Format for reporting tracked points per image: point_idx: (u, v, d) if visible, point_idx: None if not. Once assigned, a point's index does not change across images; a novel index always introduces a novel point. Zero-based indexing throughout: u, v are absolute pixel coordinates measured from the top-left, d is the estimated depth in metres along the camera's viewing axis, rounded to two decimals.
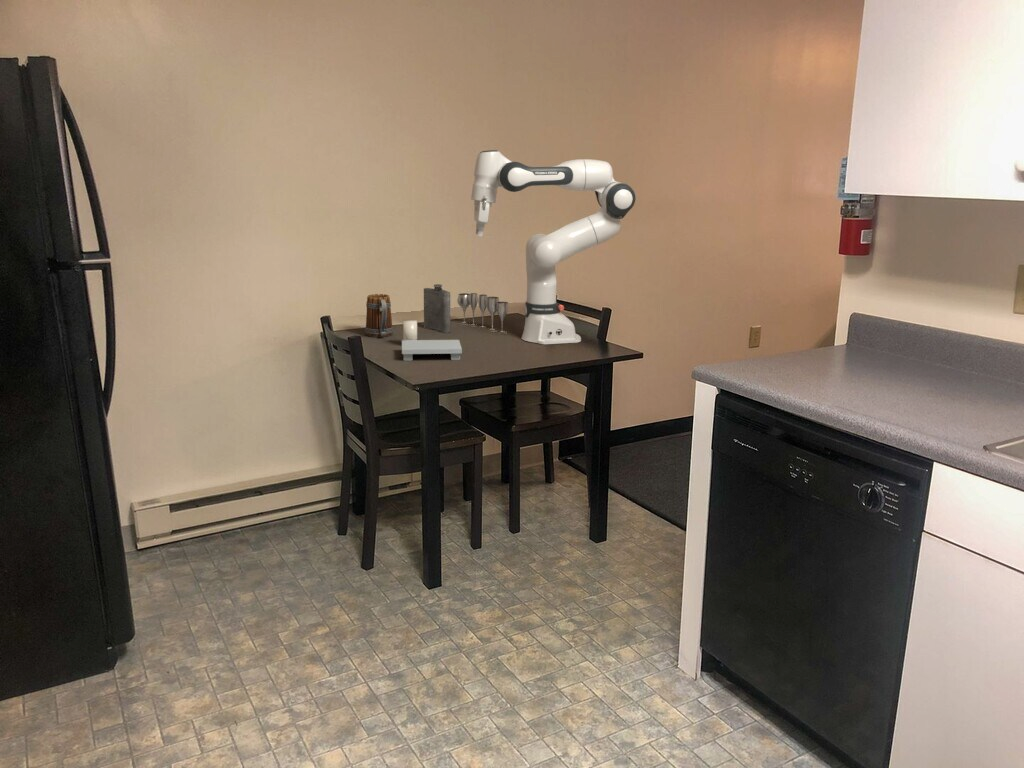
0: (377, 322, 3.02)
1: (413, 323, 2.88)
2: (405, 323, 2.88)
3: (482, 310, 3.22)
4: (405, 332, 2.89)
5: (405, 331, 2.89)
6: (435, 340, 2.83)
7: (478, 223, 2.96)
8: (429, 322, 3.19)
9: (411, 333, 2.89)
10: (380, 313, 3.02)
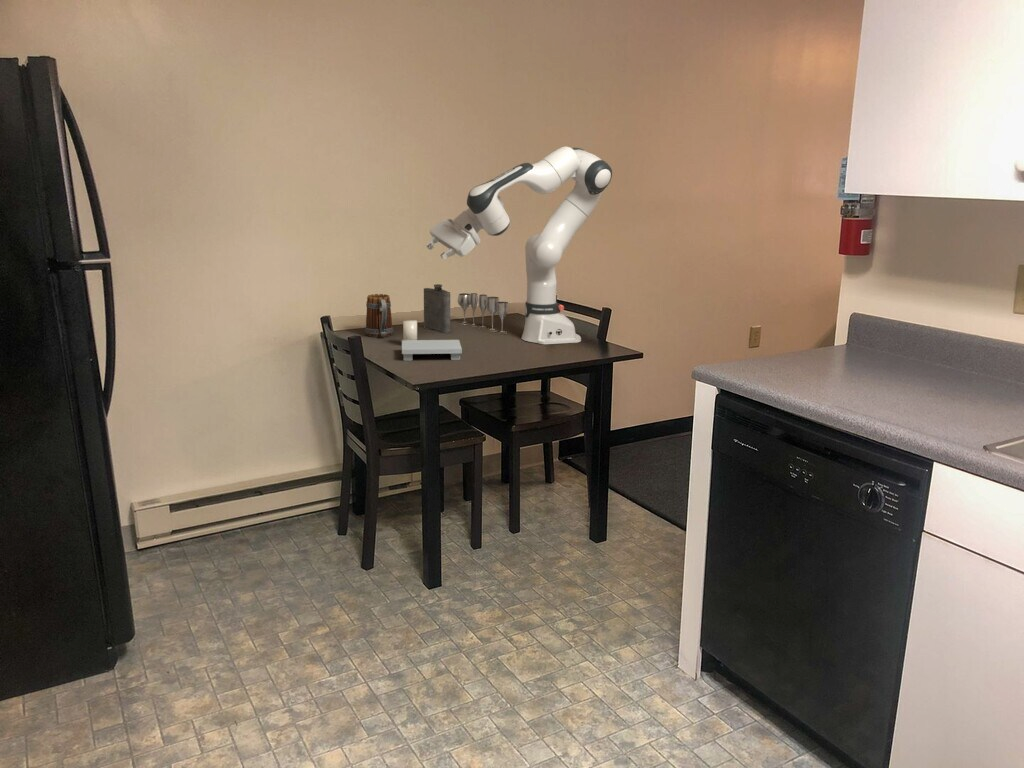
0: (377, 322, 3.02)
1: (413, 323, 2.88)
2: (405, 323, 2.88)
3: (482, 310, 3.22)
4: (405, 332, 2.89)
5: (405, 331, 2.89)
6: (435, 340, 2.83)
7: None
8: (429, 322, 3.19)
9: (411, 333, 2.89)
10: (380, 313, 3.02)
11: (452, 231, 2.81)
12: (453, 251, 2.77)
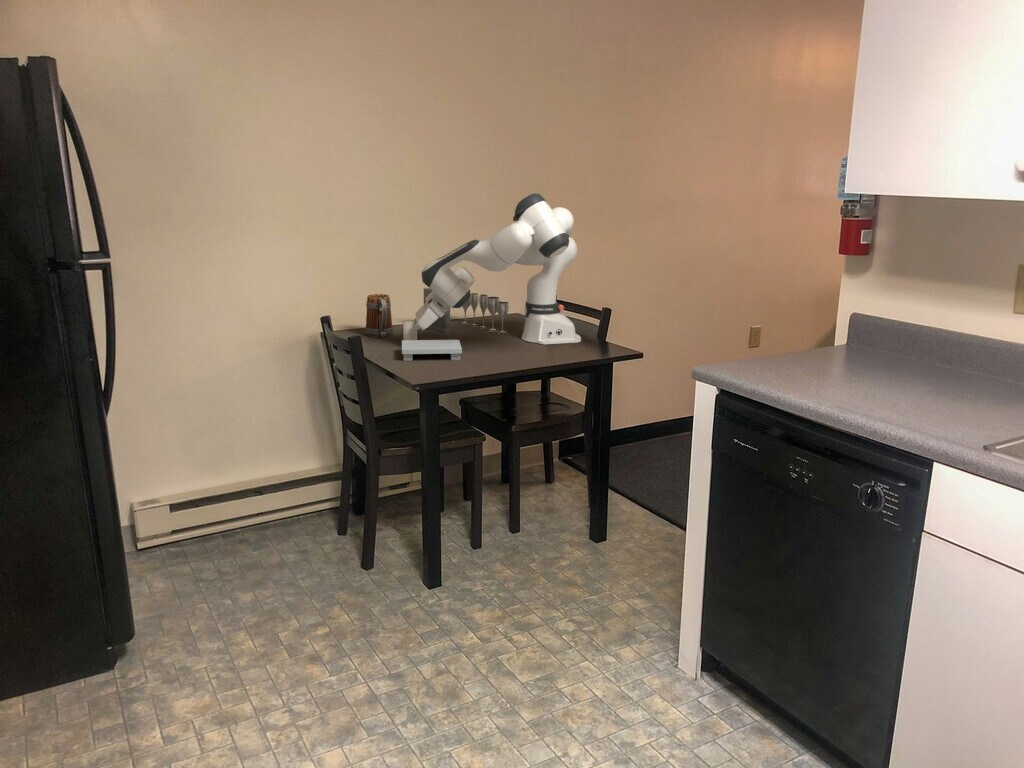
0: (377, 322, 3.02)
1: (413, 323, 2.88)
2: (405, 323, 2.88)
3: (483, 310, 3.22)
4: (405, 332, 2.89)
5: (405, 331, 2.89)
6: (435, 340, 2.83)
7: (418, 326, 2.87)
8: None
9: None
10: (380, 313, 3.02)
11: (425, 308, 2.90)
12: (417, 325, 2.85)
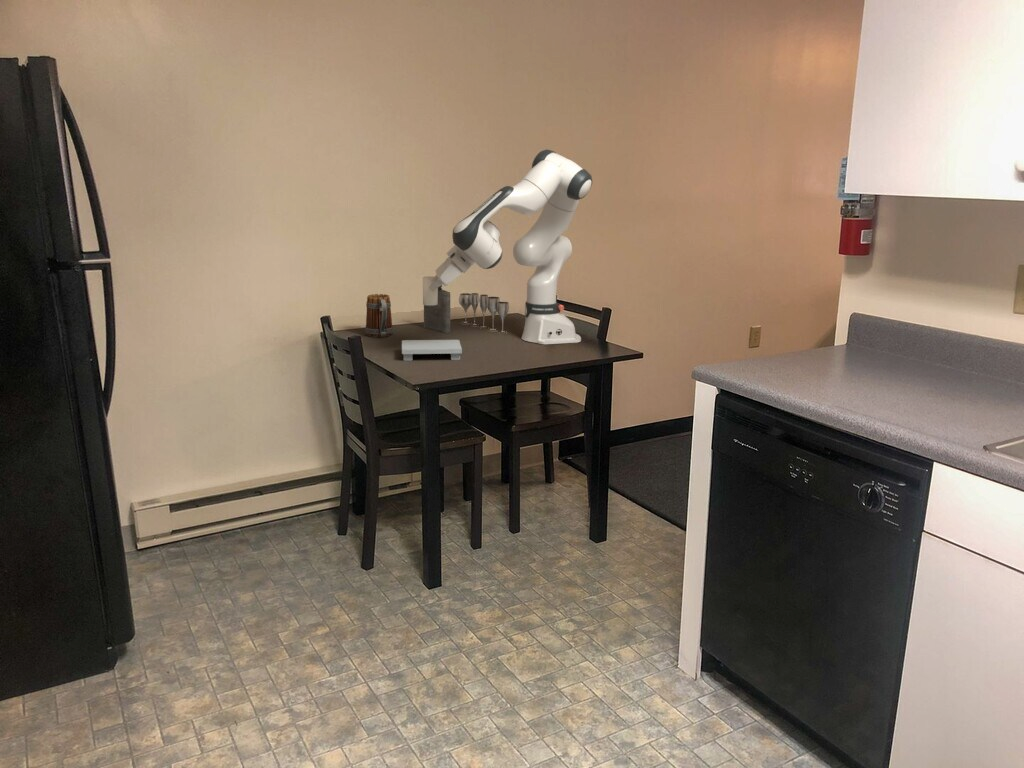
0: (377, 322, 3.02)
1: (434, 279, 2.69)
2: (425, 279, 2.69)
3: (483, 310, 3.22)
4: (425, 289, 2.70)
5: (425, 288, 2.70)
6: (435, 340, 2.83)
7: None
8: (429, 322, 3.19)
9: None
10: (380, 313, 3.02)
11: (447, 264, 2.71)
12: (439, 281, 2.66)
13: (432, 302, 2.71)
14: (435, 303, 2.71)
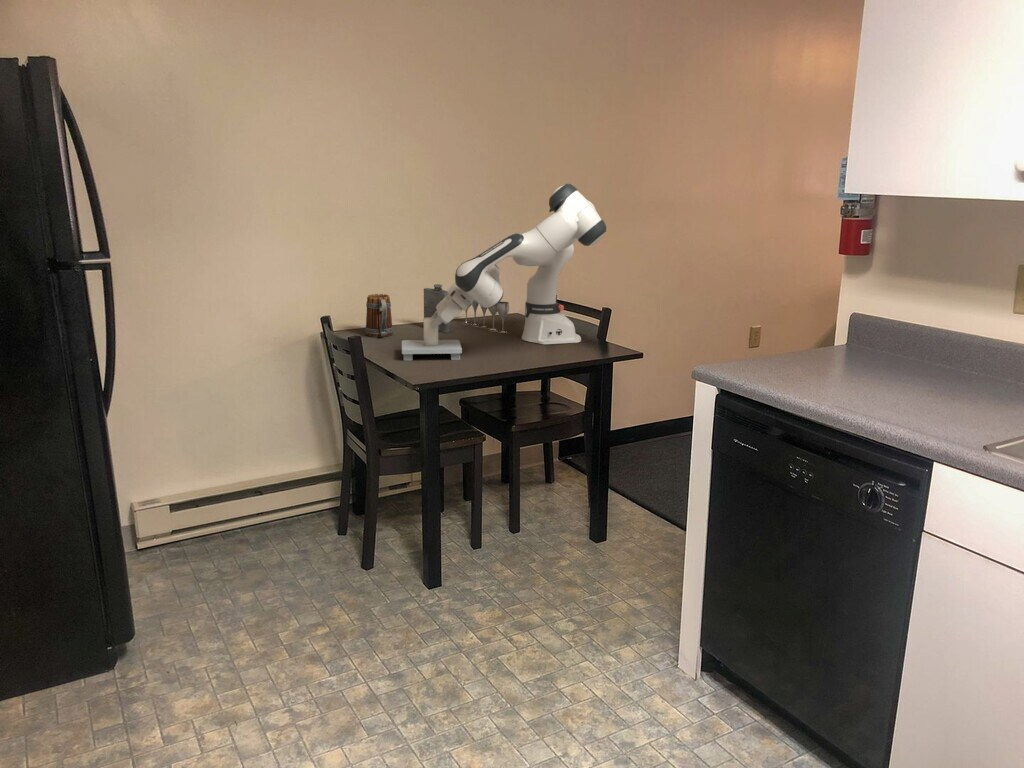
0: (377, 322, 3.02)
1: None
2: (426, 321, 2.73)
3: (483, 310, 3.22)
4: (426, 330, 2.73)
5: (426, 329, 2.73)
6: None
7: (440, 320, 2.70)
8: None
9: (432, 331, 2.73)
10: (380, 313, 3.02)
11: (447, 301, 2.74)
12: (439, 319, 2.69)
13: (432, 343, 2.74)
14: (436, 344, 2.75)
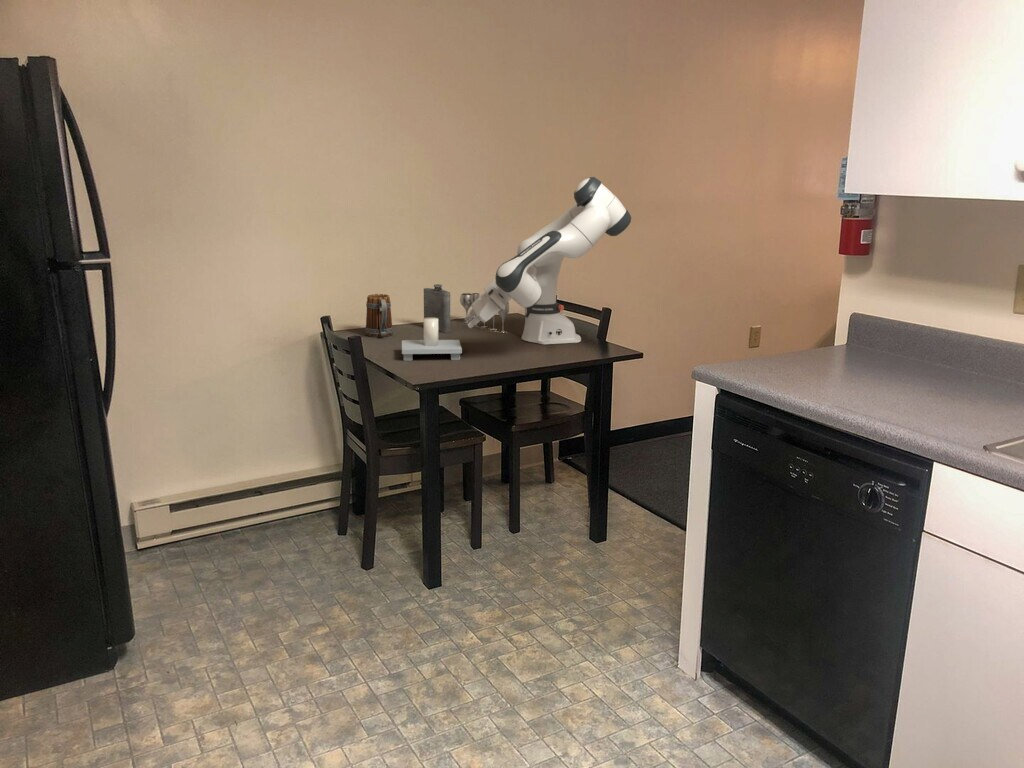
0: (377, 322, 3.02)
1: (434, 321, 2.72)
2: (426, 321, 2.72)
3: None
4: (426, 330, 2.73)
5: (426, 329, 2.73)
6: None
7: None
8: None
9: (433, 331, 2.73)
10: (380, 313, 3.02)
11: (484, 300, 2.75)
12: (477, 318, 2.69)
13: (432, 343, 2.74)
14: (436, 344, 2.75)
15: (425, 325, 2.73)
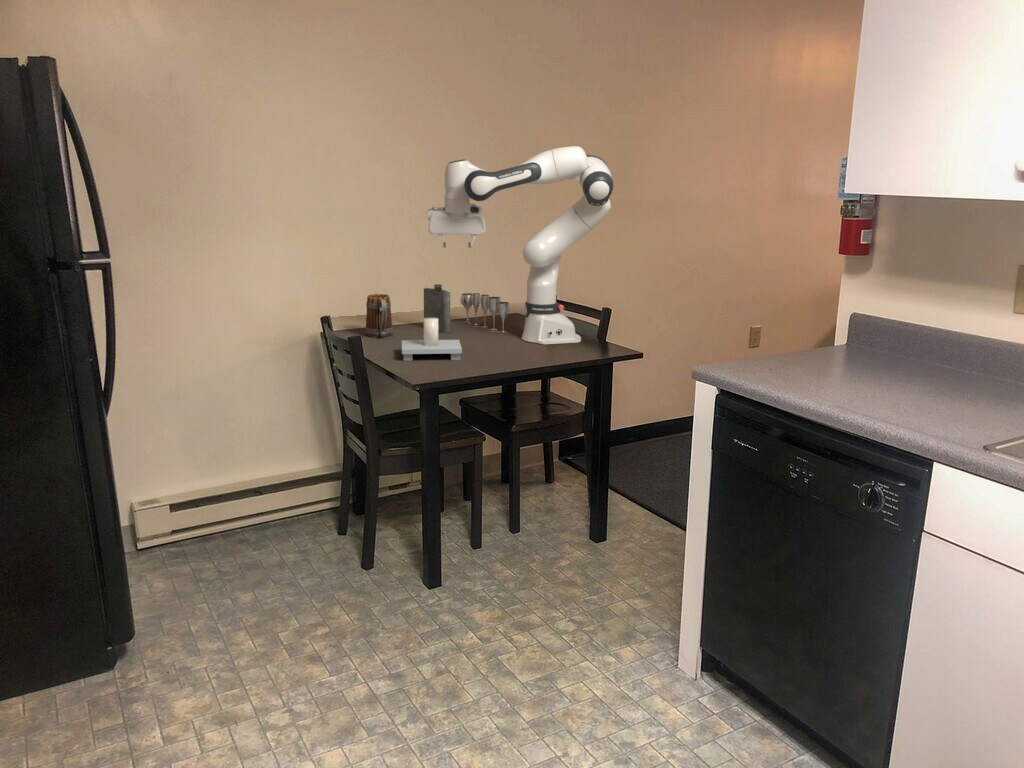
0: (377, 322, 3.02)
1: (434, 321, 2.72)
2: (426, 321, 2.72)
3: (484, 310, 3.22)
4: (426, 330, 2.73)
5: (426, 329, 2.73)
6: None
7: (471, 236, 2.87)
8: None
9: (433, 331, 2.73)
10: (380, 313, 3.02)
11: (455, 220, 2.82)
12: None
13: (432, 343, 2.74)
14: (436, 344, 2.75)
15: (425, 325, 2.73)
